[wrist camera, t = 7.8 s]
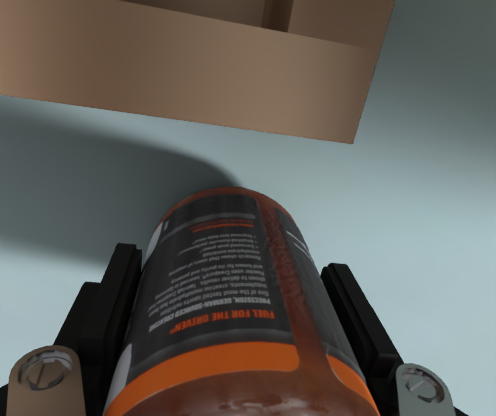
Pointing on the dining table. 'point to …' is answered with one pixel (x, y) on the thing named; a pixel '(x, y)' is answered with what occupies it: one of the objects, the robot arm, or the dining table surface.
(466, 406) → the dining table surface
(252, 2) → the socket block
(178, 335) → the supplement bottle
